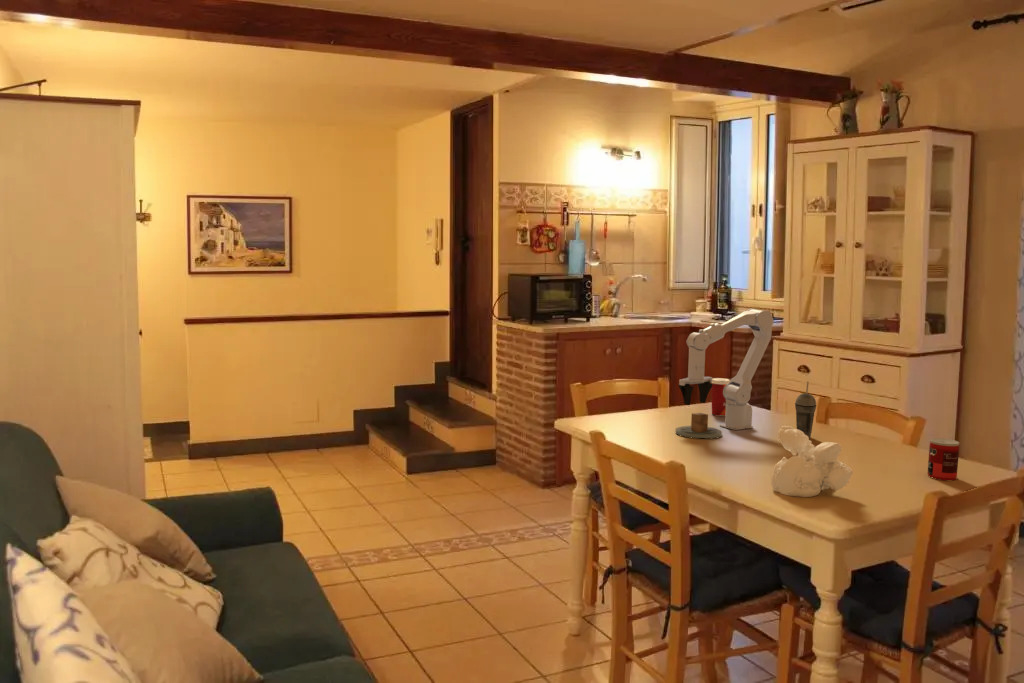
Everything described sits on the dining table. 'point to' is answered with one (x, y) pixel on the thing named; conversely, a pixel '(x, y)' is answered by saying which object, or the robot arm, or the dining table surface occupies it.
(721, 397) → the paper cup
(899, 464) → the dining table surface
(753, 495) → the dining table surface
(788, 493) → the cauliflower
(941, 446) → the canned food
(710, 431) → the dish
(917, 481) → the dining table surface
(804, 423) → the beverage cup
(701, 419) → the walnut block
